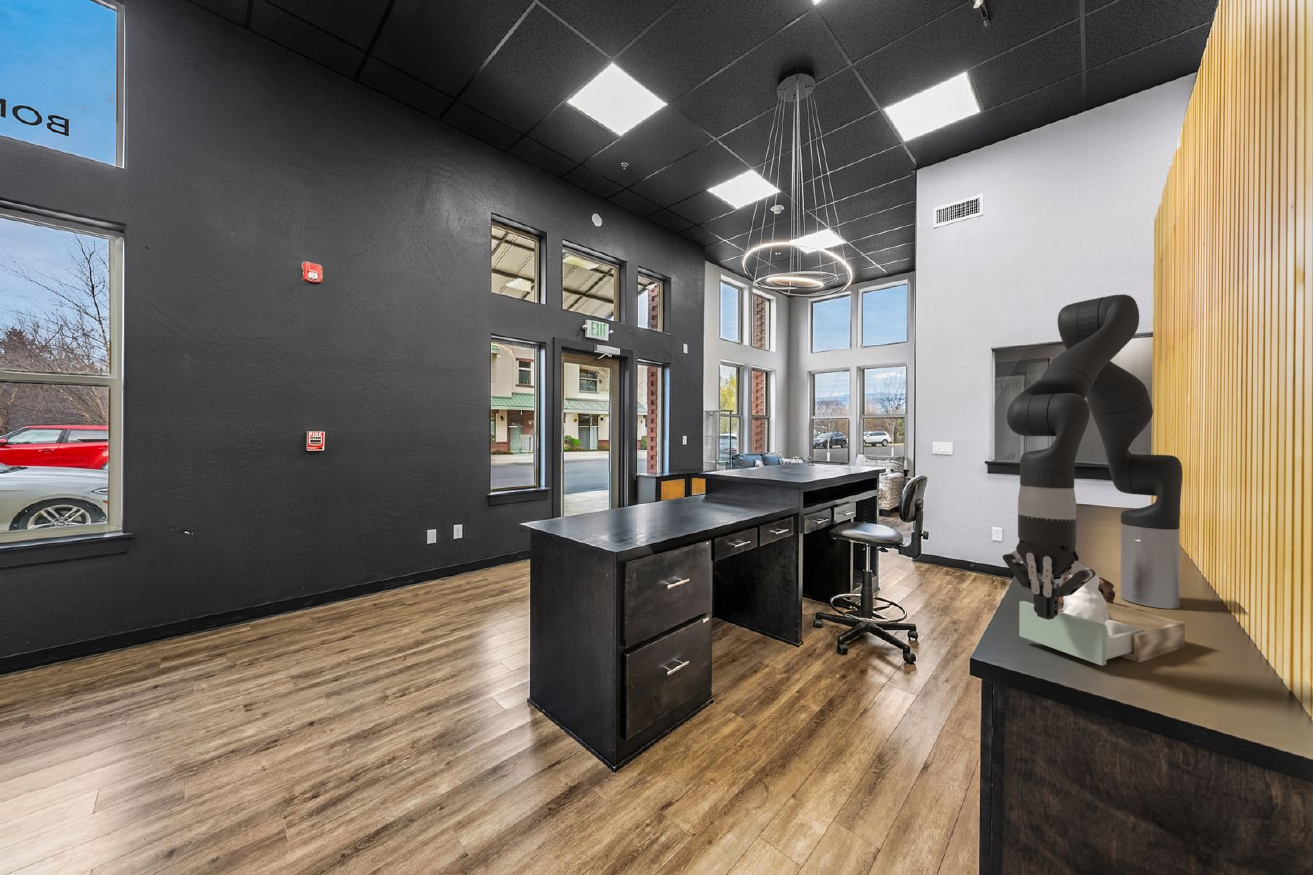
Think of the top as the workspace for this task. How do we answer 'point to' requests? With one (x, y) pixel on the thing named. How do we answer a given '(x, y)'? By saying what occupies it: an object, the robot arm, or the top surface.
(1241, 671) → the top surface
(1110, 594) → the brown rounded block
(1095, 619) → the white rounded figure
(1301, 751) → the top surface
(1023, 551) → the robot arm
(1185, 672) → the top surface
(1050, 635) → the drawer
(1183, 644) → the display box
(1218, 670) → the top surface
